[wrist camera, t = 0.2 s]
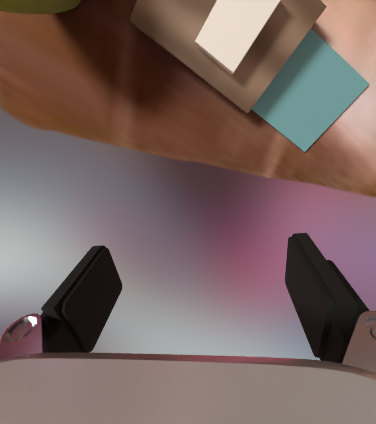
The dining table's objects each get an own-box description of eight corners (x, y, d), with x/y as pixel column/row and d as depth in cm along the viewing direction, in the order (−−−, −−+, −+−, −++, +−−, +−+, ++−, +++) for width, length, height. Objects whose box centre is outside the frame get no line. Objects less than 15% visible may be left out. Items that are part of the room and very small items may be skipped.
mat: (309, 28, 29) (310, 27, 29) (367, 84, 32) (369, 84, 31) (250, 108, 35) (250, 108, 34) (303, 151, 37) (304, 151, 36)
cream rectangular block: (240, -37, 24) (243, -51, 22) (279, 0, 25) (286, -9, 23) (196, 45, 28) (194, 41, 26) (231, 75, 29) (233, 72, 27)
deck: (191, -100, 25) (188, -132, 22) (312, 18, 29) (326, 6, 25) (138, 28, 31) (129, 19, 28) (244, 112, 35) (247, 113, 31)
